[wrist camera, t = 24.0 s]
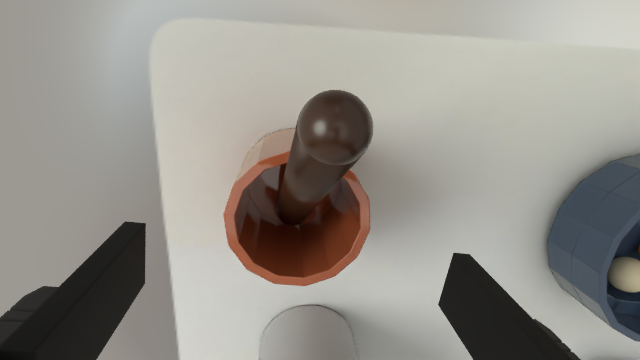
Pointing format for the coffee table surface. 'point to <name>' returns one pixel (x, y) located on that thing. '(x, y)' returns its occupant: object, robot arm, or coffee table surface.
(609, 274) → the ball
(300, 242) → the holder
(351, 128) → the stick
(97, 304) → the robot arm
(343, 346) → the mug
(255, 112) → the coffee table surface
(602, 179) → the bowl
